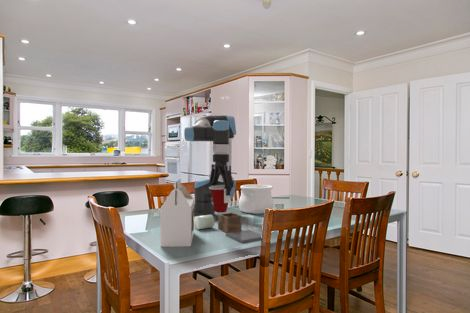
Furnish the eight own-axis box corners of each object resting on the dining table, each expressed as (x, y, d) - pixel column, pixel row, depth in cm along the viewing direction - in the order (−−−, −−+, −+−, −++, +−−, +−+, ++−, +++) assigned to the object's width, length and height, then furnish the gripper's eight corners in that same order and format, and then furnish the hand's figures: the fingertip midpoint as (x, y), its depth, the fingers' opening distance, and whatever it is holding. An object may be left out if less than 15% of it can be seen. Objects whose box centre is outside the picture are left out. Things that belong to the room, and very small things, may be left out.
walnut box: (218, 229, 167) (218, 214, 166) (232, 227, 171) (232, 212, 171) (226, 233, 159) (227, 217, 159) (241, 230, 164) (241, 215, 164)
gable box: (167, 233, 158) (167, 178, 157) (194, 233, 159) (194, 178, 158) (160, 247, 136) (160, 183, 135) (190, 246, 136) (191, 183, 136)
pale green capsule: (200, 220, 162) (194, 214, 168) (198, 232, 164) (192, 225, 170) (215, 218, 167) (209, 212, 173) (213, 229, 169) (207, 223, 175)
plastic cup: (208, 208, 151) (209, 183, 150) (231, 208, 152) (231, 184, 151) (207, 213, 140) (208, 187, 140) (231, 214, 141) (232, 187, 140)
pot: (241, 207, 232) (241, 183, 231) (274, 208, 228) (274, 184, 228) (236, 214, 206) (236, 187, 206) (273, 215, 203) (273, 188, 202)
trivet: (226, 235, 154) (226, 233, 154) (249, 231, 162) (249, 229, 162) (241, 243, 142) (241, 240, 142) (265, 238, 150) (265, 236, 150)
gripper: (202, 153, 153) (202, 198, 153) (227, 154, 133) (226, 205, 134) (215, 153, 157) (215, 196, 157) (241, 154, 137) (241, 203, 138)
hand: (220, 200), depth 146 cm, fingers closed on plastic cup, 11 cm apart
